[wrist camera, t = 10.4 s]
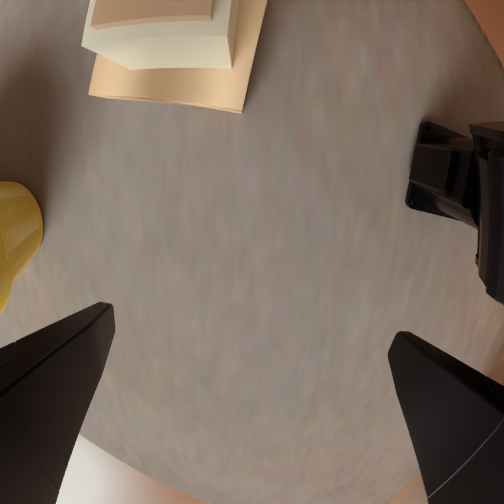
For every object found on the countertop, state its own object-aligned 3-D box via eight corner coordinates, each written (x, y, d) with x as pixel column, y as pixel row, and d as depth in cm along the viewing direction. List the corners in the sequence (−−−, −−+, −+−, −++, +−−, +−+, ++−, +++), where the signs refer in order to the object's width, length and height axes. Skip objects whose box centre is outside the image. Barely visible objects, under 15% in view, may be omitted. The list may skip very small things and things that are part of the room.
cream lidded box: (241, -16, 12) (242, -80, 6) (231, 68, 14) (226, 30, 8) (144, -13, 12) (103, -66, 6) (130, 70, 14) (74, 42, 8)
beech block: (268, -5, 15) (274, -27, 12) (241, 114, 19) (242, 110, 15) (141, -15, 14) (125, -35, 11) (110, 99, 18) (88, 94, 14)
